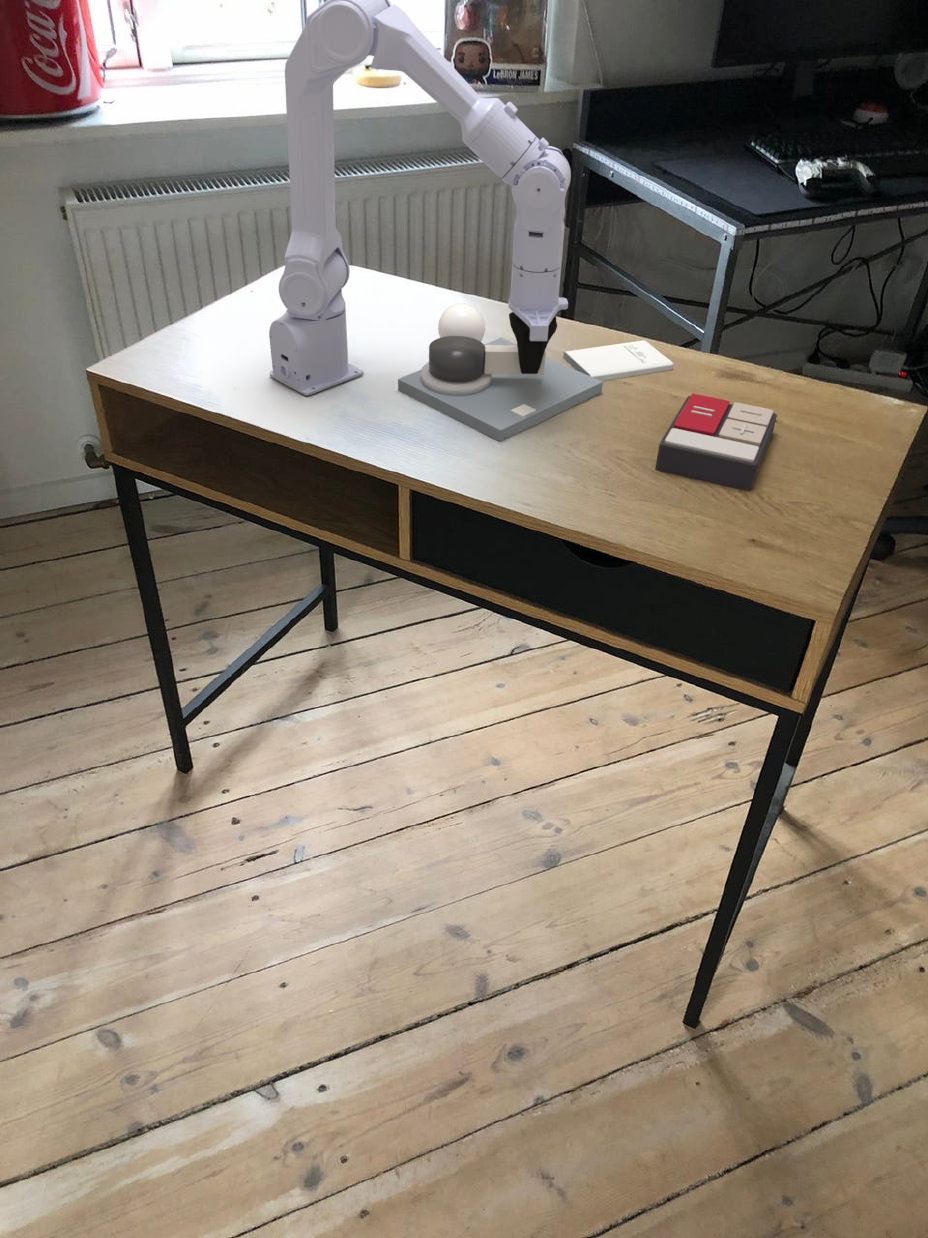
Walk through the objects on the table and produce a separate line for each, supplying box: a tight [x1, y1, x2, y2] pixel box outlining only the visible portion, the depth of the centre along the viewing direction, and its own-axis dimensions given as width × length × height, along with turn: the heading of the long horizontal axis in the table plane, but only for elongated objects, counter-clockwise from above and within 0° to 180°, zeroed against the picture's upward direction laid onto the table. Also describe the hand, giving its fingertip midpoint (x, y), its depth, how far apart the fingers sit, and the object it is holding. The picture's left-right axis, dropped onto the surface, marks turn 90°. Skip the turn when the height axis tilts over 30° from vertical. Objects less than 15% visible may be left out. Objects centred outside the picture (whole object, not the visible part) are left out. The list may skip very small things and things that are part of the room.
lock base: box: [397, 337, 604, 443], centre depth 131 cm, size 19×18×2 cm
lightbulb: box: [437, 303, 486, 342], centre depth 141 cm, size 6×6×11 cm
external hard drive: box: [562, 340, 674, 382], centre depth 139 cm, size 2×8×12 cm
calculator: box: [654, 393, 778, 492], centre depth 120 cm, size 11×4×15 cm
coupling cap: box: [428, 336, 547, 382], centre depth 129 cm, size 14×7×3 cm, turn 90°
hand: (529, 372), depth 128 cm, fingers closed
